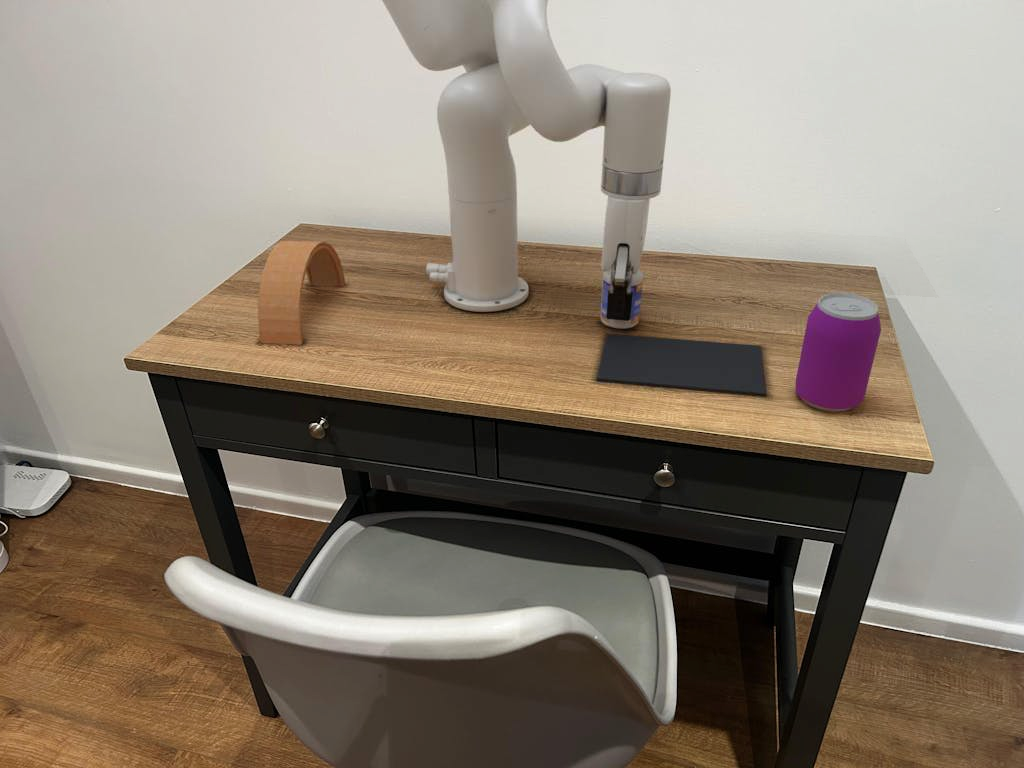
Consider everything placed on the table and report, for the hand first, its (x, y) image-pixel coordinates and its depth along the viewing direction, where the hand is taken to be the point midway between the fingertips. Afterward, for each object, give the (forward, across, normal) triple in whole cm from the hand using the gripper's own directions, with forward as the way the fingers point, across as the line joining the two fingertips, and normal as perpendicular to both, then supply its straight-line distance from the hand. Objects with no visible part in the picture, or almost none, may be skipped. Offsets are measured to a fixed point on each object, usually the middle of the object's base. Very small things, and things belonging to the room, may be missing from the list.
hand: (620, 307), depth 110 cm
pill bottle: (+2, 0, 0) cm, 2 cm away
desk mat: (+2, +10, +9) cm, 14 cm away
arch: (+3, +4, -45) cm, 45 cm away
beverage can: (+2, +15, +26) cm, 30 cm away
